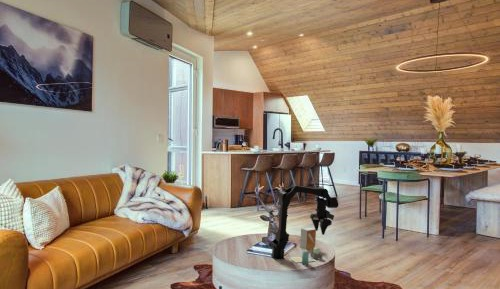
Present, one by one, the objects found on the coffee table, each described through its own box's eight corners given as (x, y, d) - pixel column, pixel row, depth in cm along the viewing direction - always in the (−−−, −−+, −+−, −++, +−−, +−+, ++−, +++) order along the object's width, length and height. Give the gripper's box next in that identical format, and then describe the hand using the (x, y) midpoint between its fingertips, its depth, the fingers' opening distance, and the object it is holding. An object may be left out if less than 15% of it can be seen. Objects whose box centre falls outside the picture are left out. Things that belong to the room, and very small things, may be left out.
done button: (315, 256, 219) (315, 249, 219) (312, 254, 222) (312, 247, 222) (320, 256, 220) (320, 248, 220) (317, 254, 224) (317, 247, 223)
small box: (306, 250, 235) (307, 230, 234) (299, 247, 240) (300, 228, 240) (315, 248, 239) (316, 229, 239) (308, 246, 244) (309, 226, 244)
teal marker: (303, 265, 207) (304, 251, 207) (300, 263, 210) (301, 249, 210) (309, 264, 208) (309, 251, 208) (306, 262, 211) (307, 249, 211)
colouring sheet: (295, 262, 210) (295, 262, 210) (289, 258, 218) (289, 257, 218) (315, 261, 214) (315, 260, 214) (309, 257, 222) (309, 256, 222)
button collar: (314, 259, 218) (314, 255, 218) (310, 256, 223) (310, 252, 223) (321, 258, 220) (322, 254, 220) (317, 255, 224) (318, 252, 224)
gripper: (340, 211, 218) (338, 236, 218) (326, 205, 236) (324, 228, 236) (323, 211, 215) (321, 237, 215) (310, 204, 233) (309, 228, 234)
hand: (319, 232), depth 225 cm, fingers open, 9 cm apart
